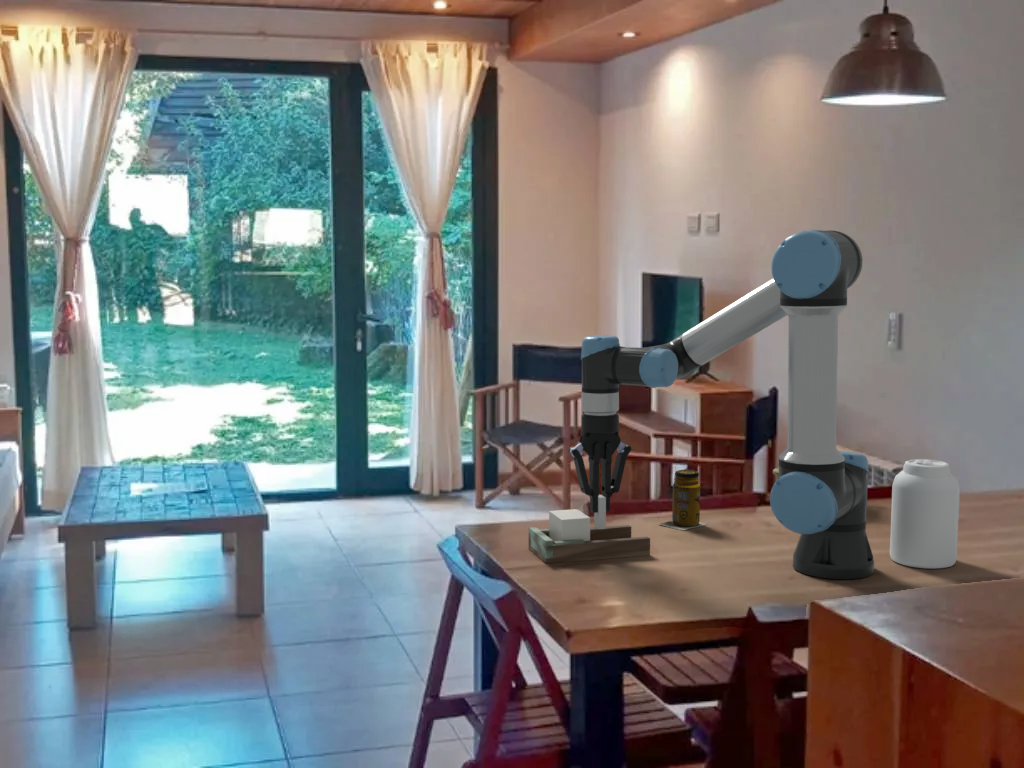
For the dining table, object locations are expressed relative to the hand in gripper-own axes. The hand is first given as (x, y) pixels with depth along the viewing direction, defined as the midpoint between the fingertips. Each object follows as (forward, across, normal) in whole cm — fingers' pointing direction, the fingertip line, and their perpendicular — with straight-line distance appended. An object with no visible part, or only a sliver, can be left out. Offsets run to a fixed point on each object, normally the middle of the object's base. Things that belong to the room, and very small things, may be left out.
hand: (600, 527), depth 243 cm
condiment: (+5, -26, -16) cm, 31 cm away
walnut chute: (+5, +2, 0) cm, 6 cm away
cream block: (+4, +6, 0) cm, 8 cm away
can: (+6, -58, +25) cm, 64 cm away
